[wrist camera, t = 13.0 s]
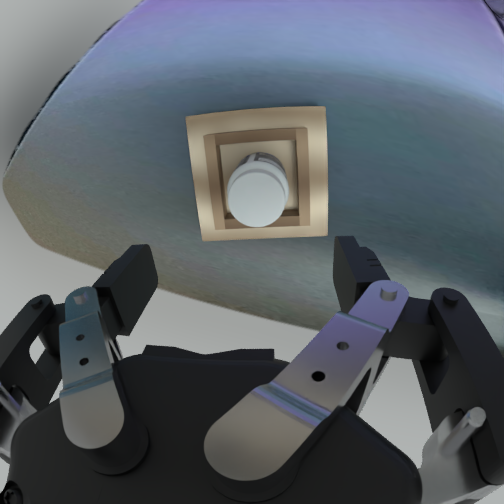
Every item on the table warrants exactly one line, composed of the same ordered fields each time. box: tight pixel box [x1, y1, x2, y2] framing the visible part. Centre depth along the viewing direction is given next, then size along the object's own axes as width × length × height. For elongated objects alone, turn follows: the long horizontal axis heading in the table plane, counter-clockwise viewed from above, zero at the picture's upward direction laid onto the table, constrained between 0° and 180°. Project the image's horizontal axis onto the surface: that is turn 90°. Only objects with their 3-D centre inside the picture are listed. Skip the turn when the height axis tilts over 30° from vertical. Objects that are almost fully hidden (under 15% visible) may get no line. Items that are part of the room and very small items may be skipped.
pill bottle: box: [227, 152, 289, 227], centre depth 24 cm, size 5×5×8 cm
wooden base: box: [186, 106, 328, 241], centre depth 28 cm, size 13×13×5 cm
